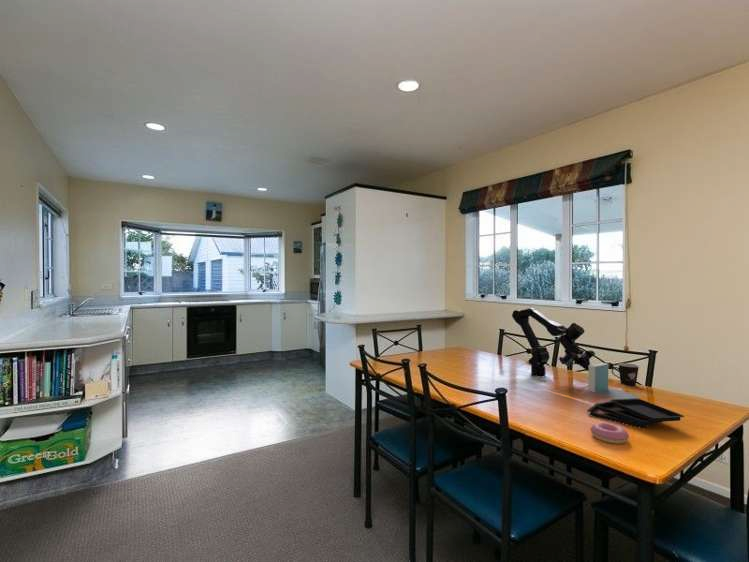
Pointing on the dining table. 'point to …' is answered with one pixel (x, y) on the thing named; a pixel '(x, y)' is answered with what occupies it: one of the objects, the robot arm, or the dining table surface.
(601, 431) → the doughnut
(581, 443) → the dining table surface
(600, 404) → the tray
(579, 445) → the dining table surface
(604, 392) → the slate board
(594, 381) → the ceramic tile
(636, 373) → the coffee mug
